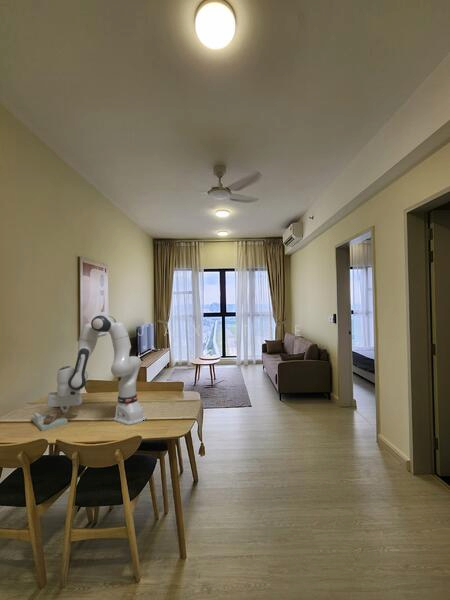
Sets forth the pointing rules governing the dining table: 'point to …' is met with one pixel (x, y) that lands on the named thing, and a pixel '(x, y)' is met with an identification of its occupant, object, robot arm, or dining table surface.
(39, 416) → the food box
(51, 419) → the brown long bar
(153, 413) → the dining table surface
